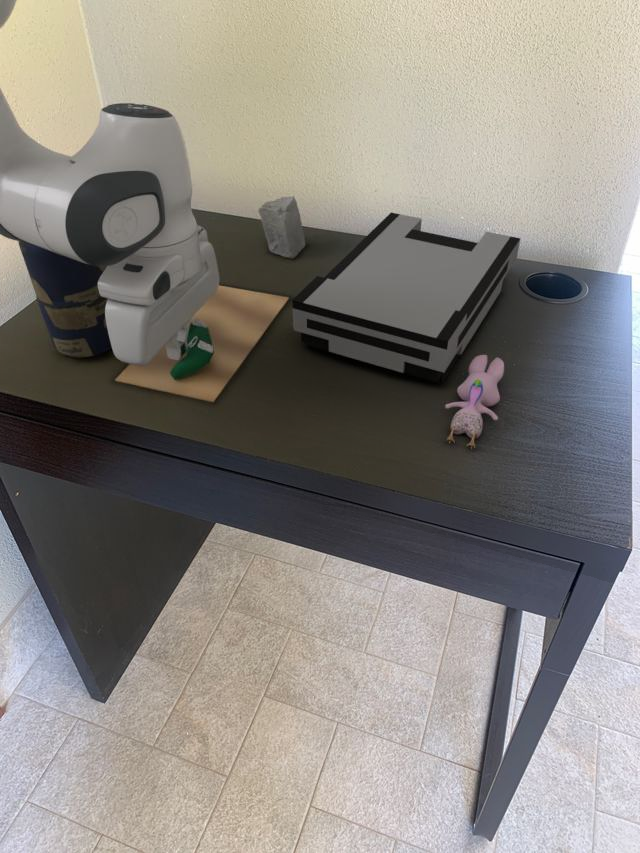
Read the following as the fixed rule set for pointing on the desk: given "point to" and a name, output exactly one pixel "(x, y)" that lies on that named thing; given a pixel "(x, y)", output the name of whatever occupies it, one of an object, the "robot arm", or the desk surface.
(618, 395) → the desk surface
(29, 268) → the canister
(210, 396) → the cork mat
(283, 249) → the mineral specimen
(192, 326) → the gaming controller
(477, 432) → the rabbit figure
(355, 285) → the game console
